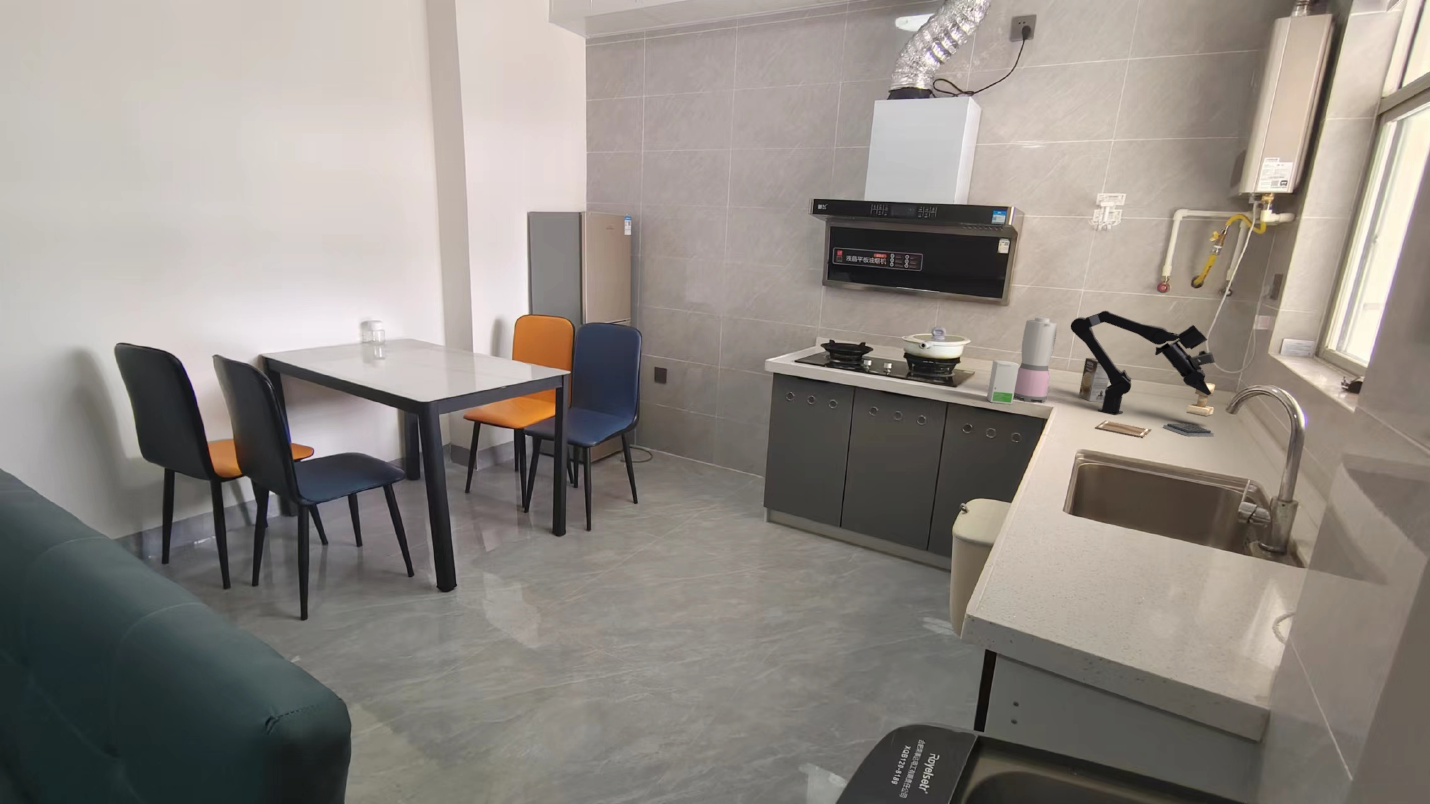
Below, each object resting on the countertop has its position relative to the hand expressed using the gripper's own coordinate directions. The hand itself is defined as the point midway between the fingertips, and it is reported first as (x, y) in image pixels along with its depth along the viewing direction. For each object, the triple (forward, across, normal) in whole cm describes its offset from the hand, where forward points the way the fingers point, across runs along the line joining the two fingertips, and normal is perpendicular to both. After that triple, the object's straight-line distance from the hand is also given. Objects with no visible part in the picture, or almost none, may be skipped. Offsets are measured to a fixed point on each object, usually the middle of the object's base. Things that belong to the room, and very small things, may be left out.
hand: (1209, 393), depth 233 cm
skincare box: (-37, -13, +54) cm, 67 cm away
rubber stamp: (+4, 0, +6) cm, 8 cm away
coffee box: (-16, +21, +34) cm, 43 cm away
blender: (-32, +2, +49) cm, 58 cm away
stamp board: (-8, -26, +25) cm, 37 cm away
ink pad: (+5, -13, +12) cm, 19 cm away
